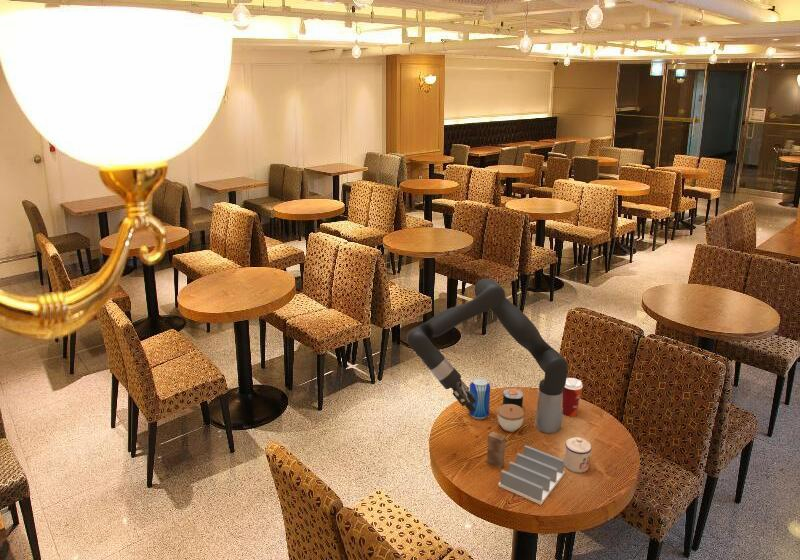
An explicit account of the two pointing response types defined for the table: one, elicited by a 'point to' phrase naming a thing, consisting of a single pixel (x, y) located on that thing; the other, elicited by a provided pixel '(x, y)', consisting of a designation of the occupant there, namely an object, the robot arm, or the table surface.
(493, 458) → the walnut board
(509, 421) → the lidded jar
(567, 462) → the teacup with lid
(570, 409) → the coffee cup
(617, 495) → the table surface
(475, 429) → the table surface
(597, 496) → the table surface
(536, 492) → the rack
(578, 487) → the table surface
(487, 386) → the beer can
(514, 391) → the sushi
